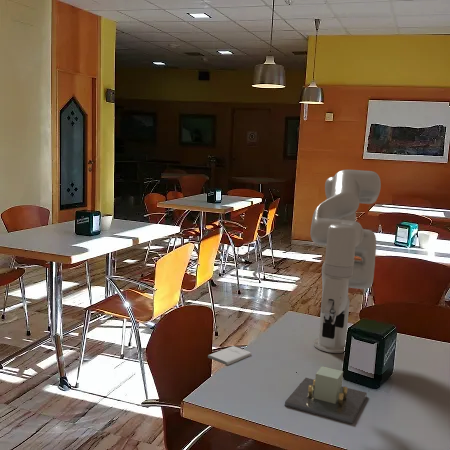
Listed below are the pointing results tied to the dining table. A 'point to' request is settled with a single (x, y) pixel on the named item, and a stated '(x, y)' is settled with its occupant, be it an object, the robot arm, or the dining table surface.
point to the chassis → (340, 411)
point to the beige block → (328, 384)
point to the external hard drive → (229, 355)
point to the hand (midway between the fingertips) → (333, 332)
